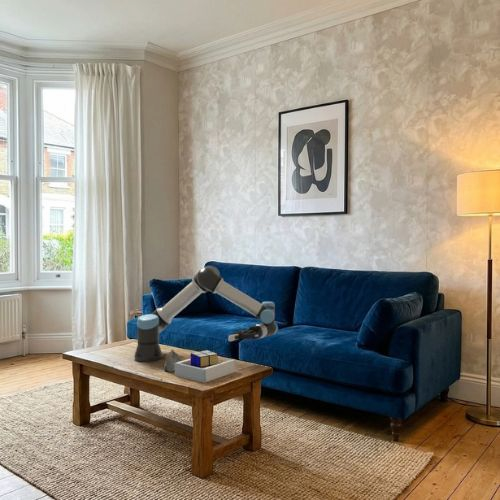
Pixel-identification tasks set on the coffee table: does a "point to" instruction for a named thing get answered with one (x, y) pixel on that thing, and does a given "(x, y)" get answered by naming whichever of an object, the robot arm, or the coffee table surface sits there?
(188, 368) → the grey storage tray
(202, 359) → the puzzle cube
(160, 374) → the coffee table surface
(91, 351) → the coffee table surface
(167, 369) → the mineral rock
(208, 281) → the robot arm
